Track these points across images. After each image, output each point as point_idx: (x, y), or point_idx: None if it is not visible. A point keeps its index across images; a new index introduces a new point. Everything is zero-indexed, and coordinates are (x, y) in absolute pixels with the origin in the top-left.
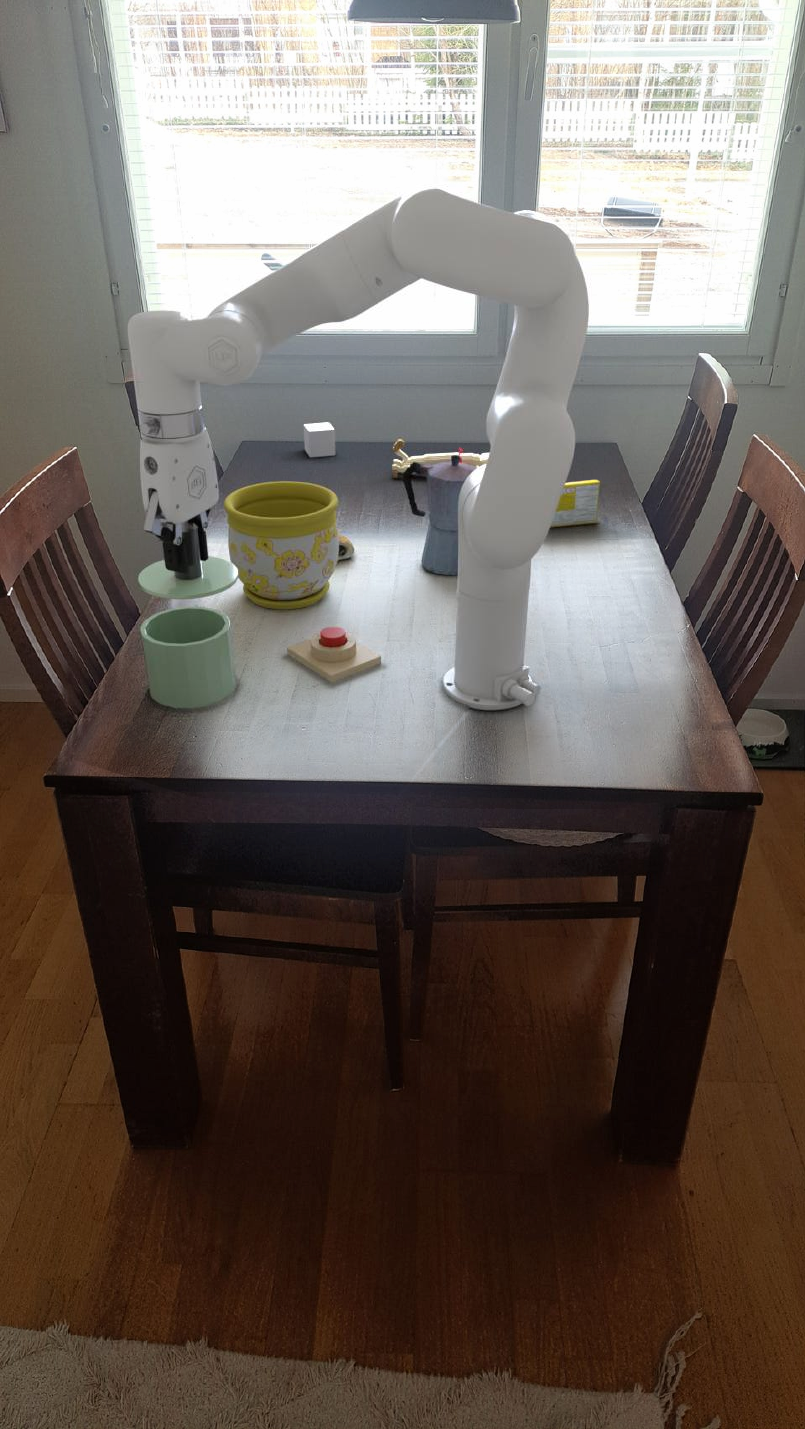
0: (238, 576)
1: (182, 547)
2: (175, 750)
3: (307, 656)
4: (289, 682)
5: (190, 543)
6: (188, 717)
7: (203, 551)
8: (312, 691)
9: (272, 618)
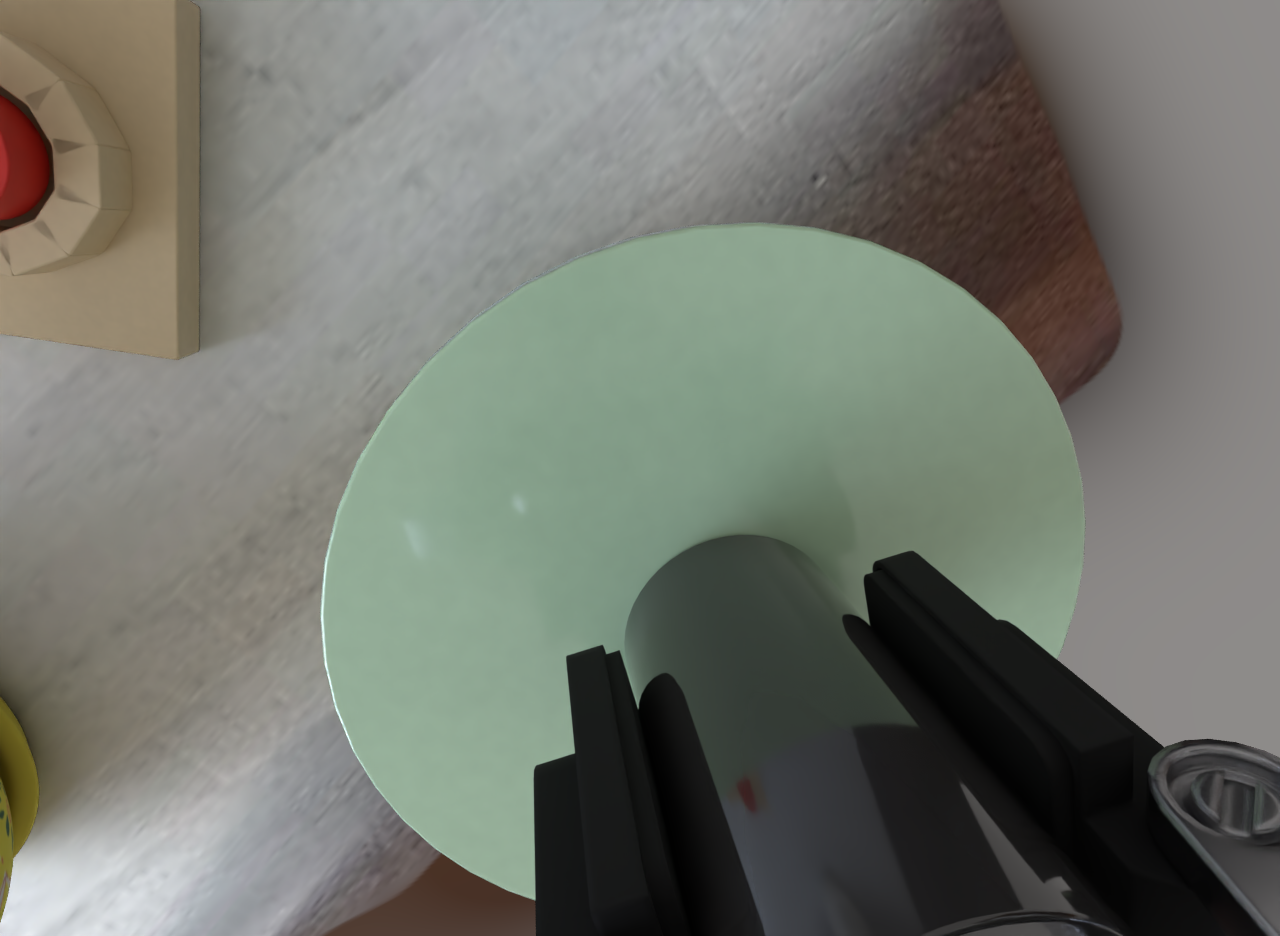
0: (8, 888)
1: (1097, 714)
2: (910, 165)
3: (153, 223)
4: (326, 190)
5: (938, 756)
6: None
7: (632, 706)
8: (299, 50)
9: (45, 635)
